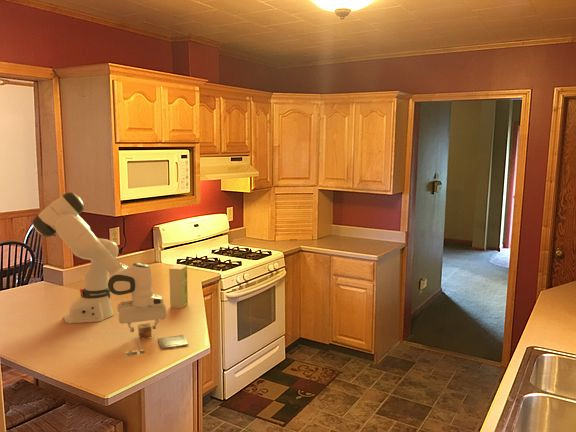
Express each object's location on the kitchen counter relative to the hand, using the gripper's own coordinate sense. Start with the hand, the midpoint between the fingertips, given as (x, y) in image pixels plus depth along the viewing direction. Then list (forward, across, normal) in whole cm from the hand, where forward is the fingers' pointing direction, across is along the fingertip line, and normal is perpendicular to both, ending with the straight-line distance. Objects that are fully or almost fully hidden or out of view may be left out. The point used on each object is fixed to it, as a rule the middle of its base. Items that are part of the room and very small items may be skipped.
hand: (143, 330), depth 217 cm
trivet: (+3, +11, -11) cm, 16 cm away
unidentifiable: (+4, -5, -17) cm, 18 cm away
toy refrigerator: (+3, +22, +37) cm, 43 cm away
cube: (+3, +1, 0) cm, 3 cm away
